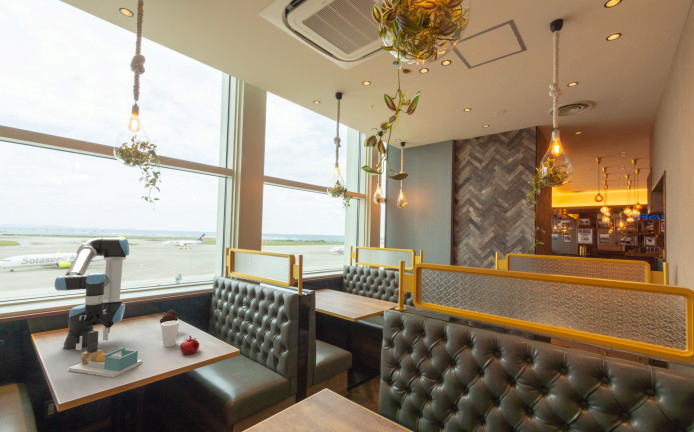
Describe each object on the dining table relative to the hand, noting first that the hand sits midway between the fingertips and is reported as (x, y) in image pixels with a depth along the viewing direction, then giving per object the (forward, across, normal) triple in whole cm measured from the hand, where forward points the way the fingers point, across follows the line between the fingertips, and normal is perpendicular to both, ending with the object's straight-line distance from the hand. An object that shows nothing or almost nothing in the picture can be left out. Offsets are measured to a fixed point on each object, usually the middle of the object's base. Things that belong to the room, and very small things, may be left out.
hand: (92, 344), depth 159 cm
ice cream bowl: (+10, +50, -1) cm, 51 cm away
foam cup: (+10, +33, -17) cm, 39 cm away
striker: (+8, 0, 0) cm, 8 cm away
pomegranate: (+10, +26, -37) cm, 46 cm away
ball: (+6, 0, -6) cm, 9 cm away
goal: (+9, 0, -18) cm, 20 cm away
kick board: (+10, 0, -10) cm, 14 cm away
